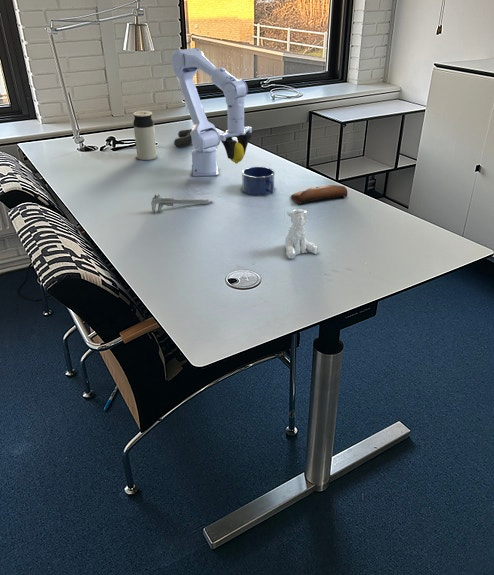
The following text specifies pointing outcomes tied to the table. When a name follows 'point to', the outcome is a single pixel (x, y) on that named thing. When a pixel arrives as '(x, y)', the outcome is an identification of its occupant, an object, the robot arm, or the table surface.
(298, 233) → the sitting furry creature
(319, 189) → the sunglasses case
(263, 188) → the blue mug
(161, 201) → the caliper
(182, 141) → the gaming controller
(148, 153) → the travel mug
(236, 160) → the lemon
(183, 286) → the table surface
